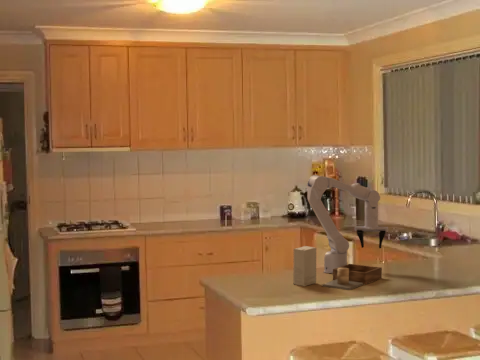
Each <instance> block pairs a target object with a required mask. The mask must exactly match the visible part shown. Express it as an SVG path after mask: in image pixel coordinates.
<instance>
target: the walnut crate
mask: <svg viewBox="0 0 480 360" xmlns="http://www.w3.org/2000/svg"><path fill="white" fill-rule="evenodd" d="M338 268H349V281H353V282H361V283H363V285H367V284H371V283H373V282H375V280H376V281H379V280H380V279H382V273H383V272H382V269H383V268H382V267H381V266H370V265H365V264H364V265H361V264H354V263H347V265H344V266H341V267H338ZM338 268H335V269H333V273H332V281H333V280H336V279H337V273H338Z"/></svg>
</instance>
